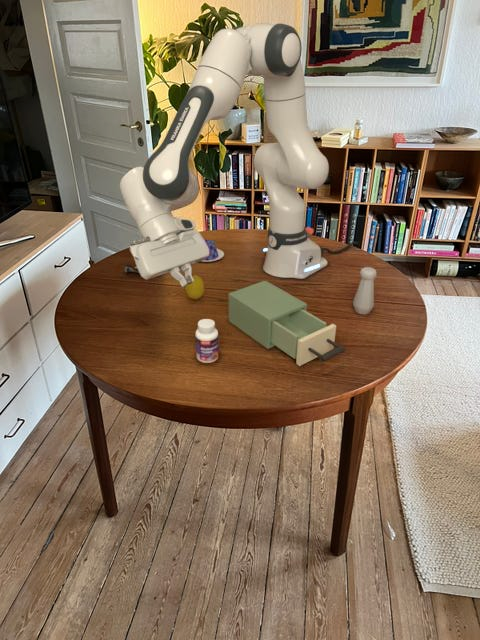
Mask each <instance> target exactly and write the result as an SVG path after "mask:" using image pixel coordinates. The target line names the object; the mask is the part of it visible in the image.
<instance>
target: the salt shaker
mask: <svg viewBox="0 0 480 640" xmlns="http://www.w3.org/2000/svg"><path fill="white" fill-rule="evenodd" d="M377 275H378V274H377V269H375V268H374V267H371V266H365V267H362V268H361V269H360V271H359V276H360V282H359V285H358V287H357V289H356V292H355V294H354V298H353V300H352V306H353V310H354V311H355V313H357V314H359V315H368V314H369V313H371V311H372V310H373V308H374V307H375V287H374V285H375V283H374V280H375V279H376V277H377Z"/></svg>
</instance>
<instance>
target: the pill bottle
mask: <svg viewBox="0 0 480 640" xmlns="http://www.w3.org/2000/svg"><path fill="white" fill-rule="evenodd" d="M194 335H195V337H194V338H195V355H196V360H197V361H199V362H200V363H203V364H211V363H214V362H216V361H217V360H218V359H219V355H220V351H219V350H220V349H219V347H220V346H219V331H218V329H217V328H216V322H215V320H213V319H211V318H203V319H200V320H198V322H197V329H196V330H195V333H194Z"/></svg>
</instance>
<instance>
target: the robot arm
mask: <svg viewBox="0 0 480 640" xmlns="http://www.w3.org/2000/svg"><path fill="white" fill-rule="evenodd" d="M301 57H302V41H301V37H300V35H299V33H298V31H297V29H295V28H294V26H291V25H289V24H285V23H267V22H261V23H260V22H259V23H255V24H249V25H244V26H243V25H238V26H234V27H232V28H228V27H227V28H222V29H220V30H218V31H217V32H216V33H215V34H214V35H213V37H212V39H211V40H210V42H209V44H208V45H207V47H206V49H205V51H204V53H203V54H202V56H201V58H200V61H199V63H198V66H197V68H196V71H195V73H194V76H193V78H192V81H191V84H190V85H189V88H188V91H187V93H186V95H185V96H184V98H183V100H182V101H181V104H180V105H179V108H178V109H177V112H176V114H175V116H174V117H173V120H172V122H171V124H170V126H169V129H168V131H167V133H166V135H165V137H164V139H163V141H162V142H161V144H160V146H158V148H157V149H156V150H155V151H154V152H153V153H152V154H151V155H150V156H149V157H148V159H147V160H146V162H145V164H144V166H135V167H132V168H131V169H129V170H128V171H126V173H124V174H123V176H122V178H121V180H120V181H119V191H120V194H121V197H122V199H123V201H124V204H125V206H126V208H127V211H128V212H129V214H130V215H131V217H132V219H134V220H135V222H136V224H137V229H138V231H139V233H140V235H141V237H142V238H140V239H135V240H133V241H132V242H131V243H130V244H129V252H130V253H131V256H132V257H133V259H134V262H135V265H136V266H137V268H138V270H139V273H138V274H139V275H140V277H141V278H143V279H144V280H146V281H147V280H151V279H153V278H156V277H159V276H162V275H164V274H165V275H166V274H168V273H169V274H170V276H171V277H172V278H174V279H175V280H176V281H178V282H179V284H180V286H181V287H183V288H185V286H186V285H189V284H191V283H193V282H194V279H193V277H192V276H193V275H192V265H193V264H197V263H199V262H203V261H202V260H204V259H205V258H207V257H208V256H209V248H208V246H207V244H206V242H205V240H206V239H204V237H203V235H202V234H201V233H200V232H199V231H198V230H197V229H196V223H195V221H194V220H192V219H186V218H180V217H176V216H175V217H174V216H173V213H172V212H173V211H176V210H179V209H182V208H185V207H188V206H189V205H191V204H193V203H194V202H195V201H196V200H197V198H198V196H199V193H200V181H199V179H198V177H197V176H196V175H195V173H194V172H193V171H192V170H191V168H190V159H191V158H190V157H191V155H192V153H193V151H194V149H195V146H196V144H197V142H198V139H199V137H200V135H201V133H202V132H203V129H204V128H205V126H206V124H207V123H208V122H210V121H218V120H222V119H224V118H226V117H228V116H229V114H230V113H231V111H232V110H233V108H234V106H235V104H236V102H237V101H238V98H239V96H240V94H241V91H242V88H243V85H244V83H245V80H246V76H251V77H261V76H262V78H263V93H264V94H263V95H264V107H265V117H266V125H267V126H266V127H267V128H268V131H269V132H270V133H271V134H272V136H273V137H274V138H275V139H276V141H277V142H268V143H263V144H261V145H260V146H259V147H258V148H257V149H256V152H255V154H254V157H253V166H254V170H255V172H256V173H257V174H258V176H259V177H260V178H261V180H262V182H263V185H264V188H265V191H266V195H267V199H268V206H269V223H268V224H269V225H268V227H267V247H265V248H263V251H262V252H266V253H265V257H264V263H263V266H262V270H263V271H264V272H265V273H266V274H268V275H270V276H273V277H276V278H285V279H287V278H289V279H290V278H291V279H292V278H294V279H299V280H300V279H301V280H302V279H303V280H304V279H306V278H308V277H309V276H311V275H313V274H315V273H316V272H318V271H319V270H322V269H323V268H325V267H326V266H328V265H329V263H328V260H327V259H326V258H324V251H325V252H328V253H329V254H339V253H342V252H344V251H346V250H348V249H349V248H350V247H352V246H354V245H356V246H360V243H359V242H358V241H352V242H350V243H349V244H347V245H346V246H344V247H343V248H341V249H337V250H330V249H329V248H328V247H323V246H320V245H319V244H317V243H316V242H315V241H313V240H312V239H311V238H309V237H308V234H309V235H310V236H311V235H313V234H314V232H315V230H314V228H312V227H310V226H308V227H306V226H305V221H306V208H307V207H306V203H305V201H304V199H303V198H302V196H301V195H300V194H299V193H298V189H300V190H317V189H319V188H320V187H322V186H323V185H324V183H325V182H326V181H327V179H328V176H329V172H330V171H329V170H330V166H329V161H328V159H327V157H326V156H325V155H324V154H323V153H322V152H321V151H320V149H319V147H318V146H317V144H316V142H315V139H314V138H313V135H312V132H311V129H310V126H309V121H308V113H307V112H308V111H307V96H306V83H305V82H306V81H305V75H304V70H303V63H302V60H301ZM136 266H135V267H136ZM180 269H181V270H180ZM181 271H182V272H184V275H183V274H182V273H181Z"/></svg>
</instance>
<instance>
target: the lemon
mask: <svg viewBox="0 0 480 640" xmlns="http://www.w3.org/2000/svg"><path fill="white" fill-rule="evenodd" d="M192 277H193V279H194V282H193V283H191V284H189V285H186V286H184V288H185V293H186V295H187V297H188V298H190V299H192V300H194V301H197V300H198V299H200V298H202V297H203V295H204V294H205V283H204V280H203V279H202V278H201V277H200V276H199V275H196V274H193V275H192Z"/></svg>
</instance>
